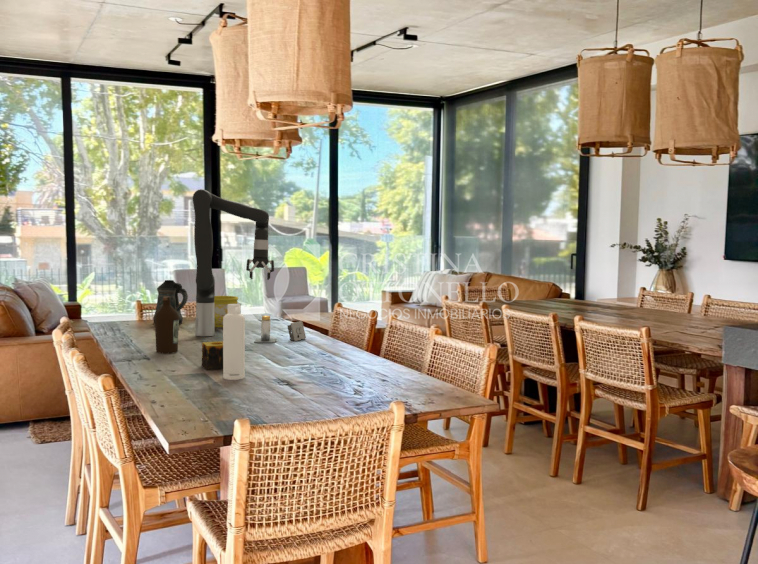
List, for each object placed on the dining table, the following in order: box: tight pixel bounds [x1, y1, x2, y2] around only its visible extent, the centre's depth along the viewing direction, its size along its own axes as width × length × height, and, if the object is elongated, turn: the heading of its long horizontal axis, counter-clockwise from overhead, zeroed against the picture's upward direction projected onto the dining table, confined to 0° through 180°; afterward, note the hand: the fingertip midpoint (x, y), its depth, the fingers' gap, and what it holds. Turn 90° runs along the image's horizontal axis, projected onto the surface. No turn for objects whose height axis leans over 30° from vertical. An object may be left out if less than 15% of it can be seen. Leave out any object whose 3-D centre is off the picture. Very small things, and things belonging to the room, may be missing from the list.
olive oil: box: [153, 297, 180, 354], centre depth 320 cm, size 11×11×25 cm
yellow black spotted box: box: [201, 340, 223, 371], centre depth 288 cm, size 10×10×10 cm
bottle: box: [222, 303, 246, 381], centre depth 269 cm, size 8×8×28 cm
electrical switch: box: [286, 320, 307, 342], centre depth 360 cm, size 9×5×9 cm, turn 152°
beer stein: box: [152, 279, 189, 325], centre depth 409 cm, size 16×19×25 cm
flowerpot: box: [214, 295, 239, 328], centre depth 403 cm, size 18×18×16 cm
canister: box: [260, 315, 271, 341], centre depth 353 cm, size 4×4×12 cm
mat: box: [253, 338, 277, 344], centre depth 353 cm, size 10×10×1 cm
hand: (259, 279), depth 371 cm, fingers open, 8 cm apart
